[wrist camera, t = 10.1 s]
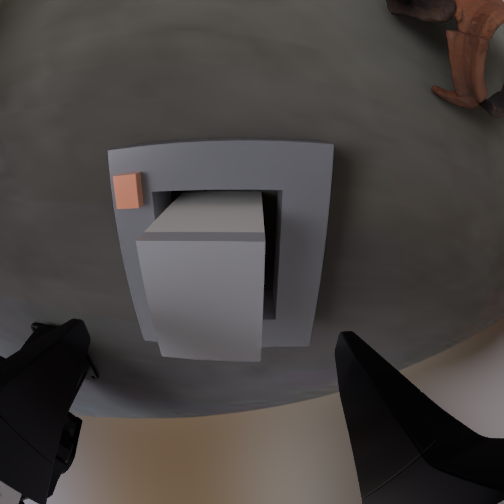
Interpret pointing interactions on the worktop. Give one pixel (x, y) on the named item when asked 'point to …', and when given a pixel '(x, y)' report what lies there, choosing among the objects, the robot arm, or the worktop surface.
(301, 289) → the socket block
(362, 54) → the worktop surface
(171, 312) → the plug
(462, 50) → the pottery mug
